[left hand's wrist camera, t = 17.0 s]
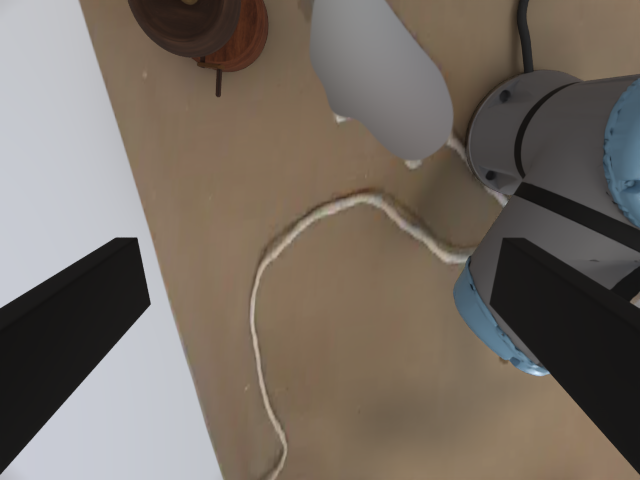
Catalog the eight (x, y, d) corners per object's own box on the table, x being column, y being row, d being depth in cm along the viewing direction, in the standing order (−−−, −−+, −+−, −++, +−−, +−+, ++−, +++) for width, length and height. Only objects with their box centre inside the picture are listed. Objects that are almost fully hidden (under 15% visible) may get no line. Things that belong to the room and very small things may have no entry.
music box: (165, -51, 37) (40, -216, 18) (265, -46, 38) (243, -199, 19) (183, 99, 42) (100, 88, 24) (271, 100, 43) (258, 91, 25)
